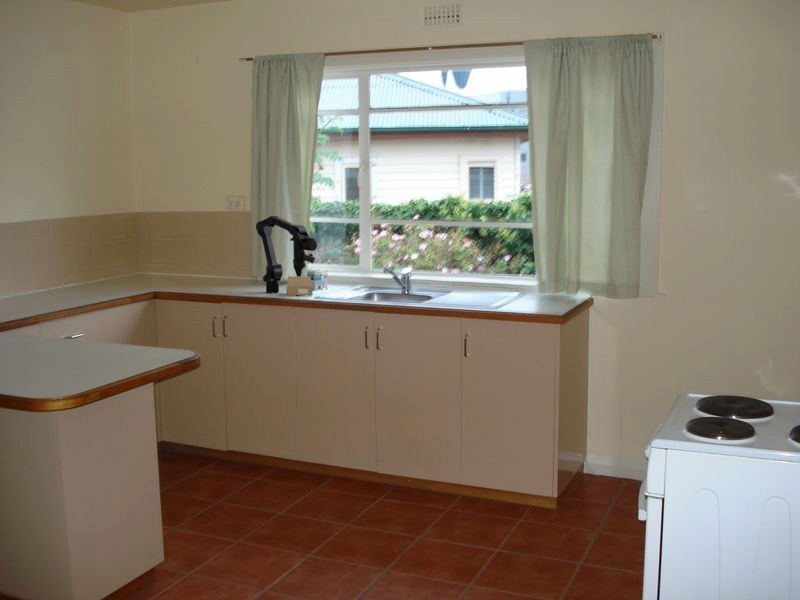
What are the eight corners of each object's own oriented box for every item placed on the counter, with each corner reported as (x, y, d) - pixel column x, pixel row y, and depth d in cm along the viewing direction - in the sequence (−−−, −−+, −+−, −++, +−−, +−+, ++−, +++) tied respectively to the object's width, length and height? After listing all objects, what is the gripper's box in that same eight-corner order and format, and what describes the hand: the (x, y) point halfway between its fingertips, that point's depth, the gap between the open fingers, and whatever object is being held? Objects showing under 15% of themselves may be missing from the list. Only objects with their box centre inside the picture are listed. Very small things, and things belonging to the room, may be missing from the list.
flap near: (287, 285, 462) (287, 285, 462) (287, 276, 462) (287, 276, 461) (310, 285, 464) (310, 285, 463) (310, 276, 463) (310, 276, 463)
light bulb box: (315, 290, 485) (315, 271, 484) (306, 289, 489) (306, 270, 488) (327, 289, 494) (328, 270, 492) (319, 287, 498) (319, 269, 496)
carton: (285, 296, 463) (285, 286, 462) (285, 293, 473) (285, 283, 473) (312, 296, 465) (312, 286, 464) (311, 293, 475) (311, 283, 474)
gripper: (314, 251, 453) (315, 281, 455) (313, 247, 471) (313, 276, 474) (293, 251, 451) (293, 281, 454) (292, 247, 469) (293, 276, 472)
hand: (299, 278), depth 463 cm, fingers closed
